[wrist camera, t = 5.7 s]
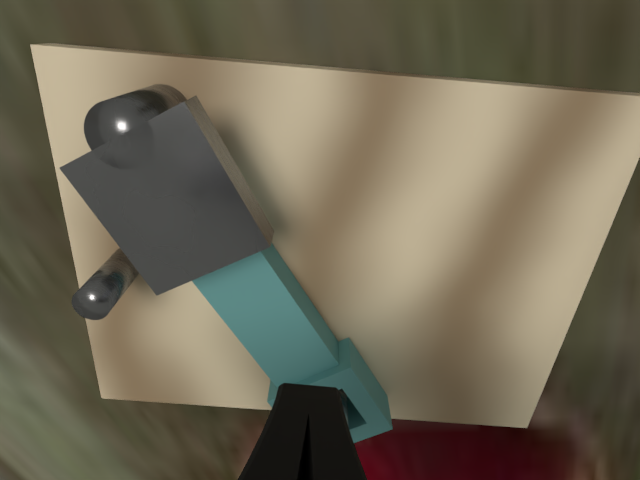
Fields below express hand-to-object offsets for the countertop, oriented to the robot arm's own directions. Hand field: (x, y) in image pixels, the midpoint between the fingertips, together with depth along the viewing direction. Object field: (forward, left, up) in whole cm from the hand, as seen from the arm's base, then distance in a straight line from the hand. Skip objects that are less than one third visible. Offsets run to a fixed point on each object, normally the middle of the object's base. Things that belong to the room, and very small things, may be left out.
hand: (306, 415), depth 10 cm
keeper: (+6, -3, -8) cm, 11 cm away
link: (+1, +2, -7) cm, 8 cm away
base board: (-1, 0, -8) cm, 8 cm away
